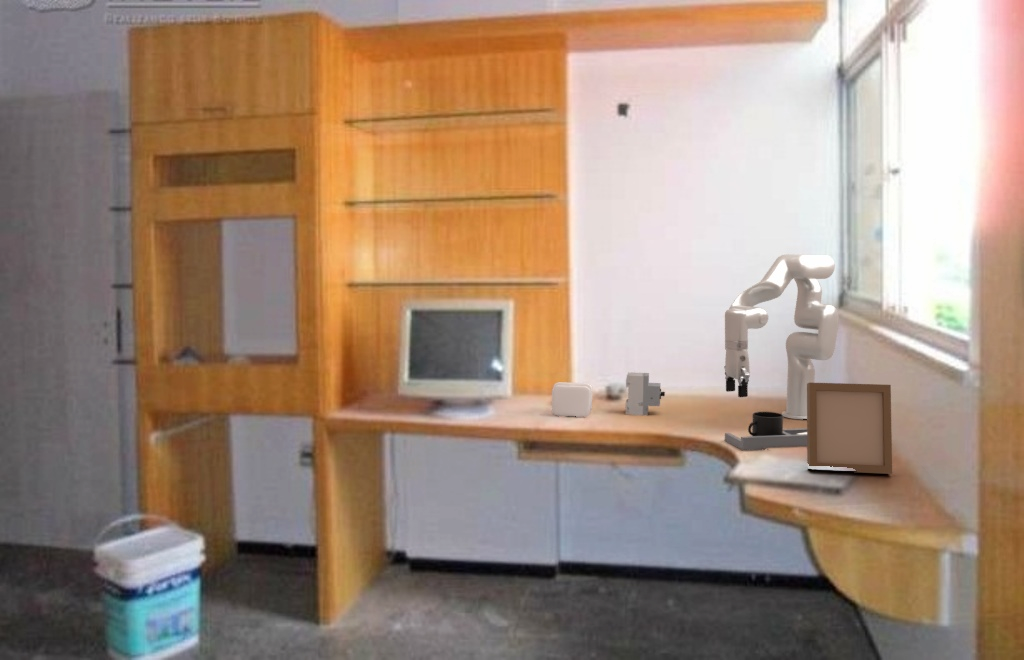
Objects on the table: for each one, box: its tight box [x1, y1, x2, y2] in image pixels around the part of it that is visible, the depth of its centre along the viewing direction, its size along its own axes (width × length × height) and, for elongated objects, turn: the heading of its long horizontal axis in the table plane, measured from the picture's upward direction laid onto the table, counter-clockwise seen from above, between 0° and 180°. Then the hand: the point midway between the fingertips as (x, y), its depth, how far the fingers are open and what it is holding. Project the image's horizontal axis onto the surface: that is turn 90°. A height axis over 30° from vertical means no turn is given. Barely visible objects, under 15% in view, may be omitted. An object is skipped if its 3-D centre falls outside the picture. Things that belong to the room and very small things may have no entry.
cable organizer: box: [551, 381, 593, 418], centre depth 320 cm, size 15×11×12 cm
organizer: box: [724, 427, 807, 451], centre depth 274 cm, size 31×14×4 cm, turn 100°
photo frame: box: [806, 382, 893, 475], centre depth 243 cm, size 15×22×25 cm
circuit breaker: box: [625, 372, 666, 416], centre depth 321 cm, size 8×14×15 cm, turn 78°
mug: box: [747, 411, 784, 436], centre depth 276 cm, size 9×12×9 cm
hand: (736, 394), depth 294 cm, fingers open, 9 cm apart
